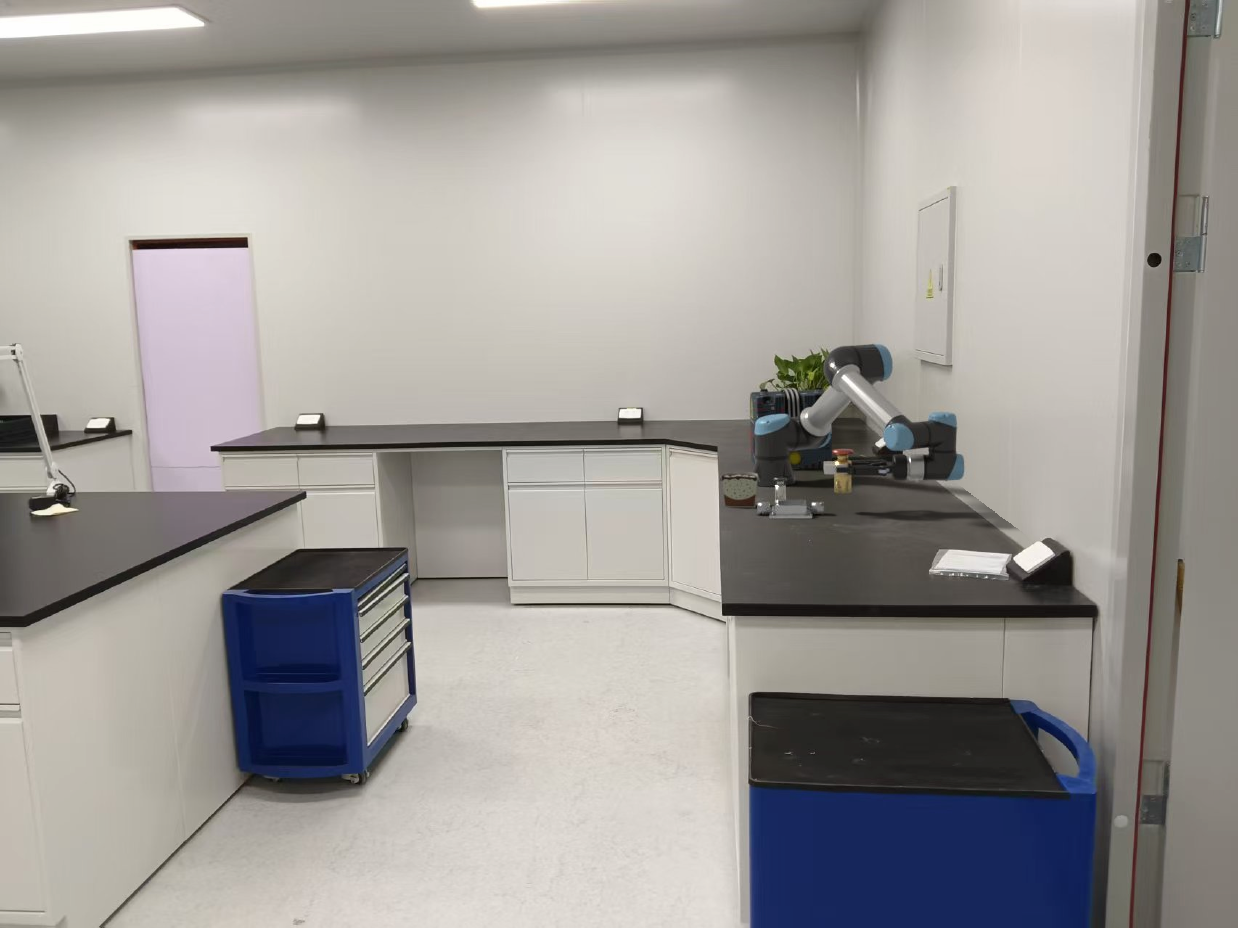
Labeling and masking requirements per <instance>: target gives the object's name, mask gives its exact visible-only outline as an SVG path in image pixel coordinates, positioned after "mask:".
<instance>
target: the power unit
mask: <svg viewBox="0 0 1238 928" xmlns="http://www.w3.org/2000/svg"><path fill="white" fill-rule="evenodd" d="M824 392H825V391H824V390H823V387H822V386H815V387H814V389H808V390H806V389H805V390H804V389H803V390H797V389H796V388H794V387H791V388H789V387H787V388H781V390H780V391H777V390H776V391H769V390H768V388H761V389H760V391H752V392H750V394H749V395H750V396H749V414H750V415H749V416H750V417H749V420H750V426H749V427H750V459H751V461H752V463H753V465H754V464H755V461H756V453H755V423H756V421H757V420H758V419H759V418H761V417H764V416H768V415H776V414H787V415H788V416H789V418H790V417H797V416H799V415H800V413H801V412H802V411H803V410H804V409H806V408H808V407H812V406H813V405H814V404H815V403H816V402H817V400H818V399H819V398H820V397H821V396H822V395H823V393H824ZM830 436H831V438H830V440H829V442H828V443H827V444H826V445H825V446H823V447H820V448H816V449H805V450H795V451H790V463H791V466H792V469H793V471H794V470H815V469H817V470H819V469H820V470H821V469H823V470H824V462H833V453H832V450H833V434H830Z"/></svg>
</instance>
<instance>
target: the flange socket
mask: <svg viewBox="0 0 1238 928" xmlns="http://www.w3.org/2000/svg"><path fill="white" fill-rule="evenodd" d="M756 505H757V506H756V508H757V509H756V513H757V515H769V516H768V517H769V519H774V520H775V519H813V515H825V501H811V506H810V505H807V500H806V499H786V500H774V505H772V506H771V502H770V501H758V502H756Z"/></svg>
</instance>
